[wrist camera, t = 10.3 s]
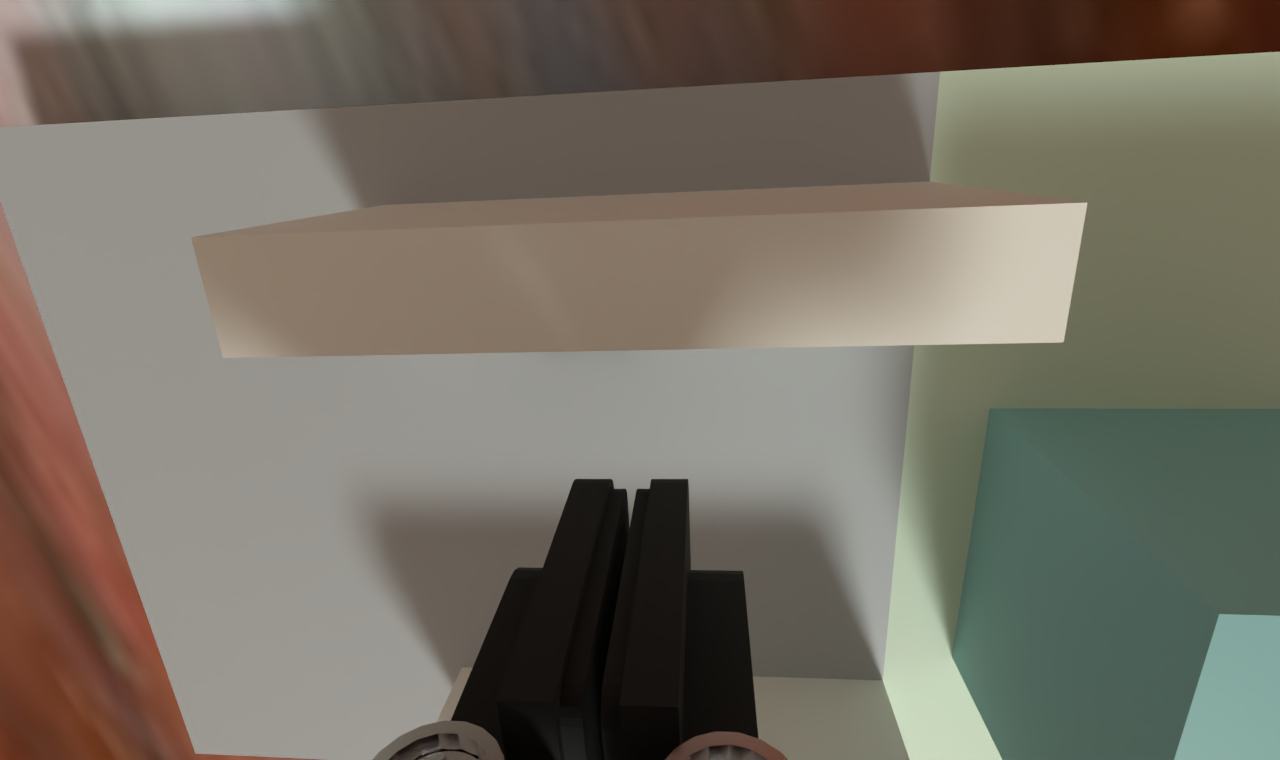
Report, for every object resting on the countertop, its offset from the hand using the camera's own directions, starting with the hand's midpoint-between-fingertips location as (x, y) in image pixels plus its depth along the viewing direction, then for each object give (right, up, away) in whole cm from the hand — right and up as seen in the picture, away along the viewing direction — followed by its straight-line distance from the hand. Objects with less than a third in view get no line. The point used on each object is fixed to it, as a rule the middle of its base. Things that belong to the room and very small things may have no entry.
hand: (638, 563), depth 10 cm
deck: (+5, +1, +6) cm, 7 cm away
